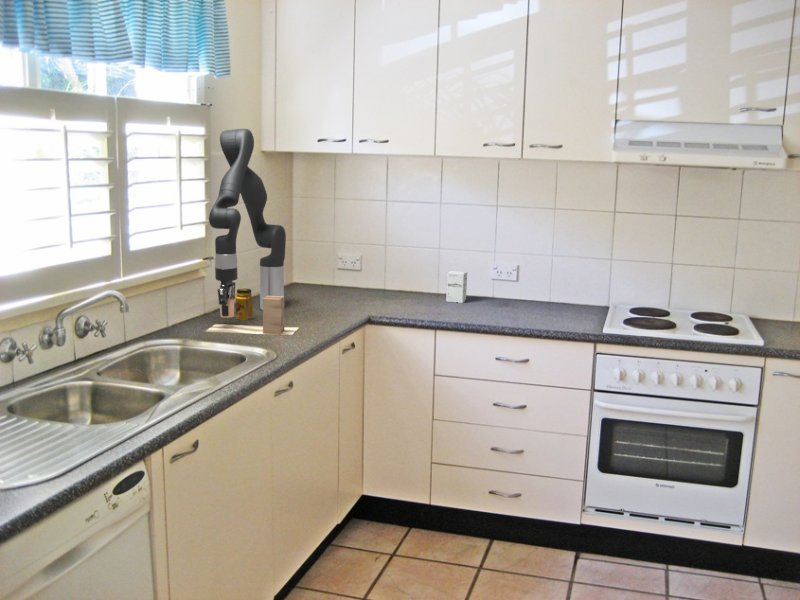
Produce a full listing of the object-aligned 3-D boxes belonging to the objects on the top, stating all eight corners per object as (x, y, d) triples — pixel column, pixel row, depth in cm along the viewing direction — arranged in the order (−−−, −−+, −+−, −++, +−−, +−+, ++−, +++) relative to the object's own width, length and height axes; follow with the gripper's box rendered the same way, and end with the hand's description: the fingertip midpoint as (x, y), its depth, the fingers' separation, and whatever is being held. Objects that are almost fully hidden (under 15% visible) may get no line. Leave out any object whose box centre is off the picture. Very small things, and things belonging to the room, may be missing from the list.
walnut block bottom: (267, 329, 292) (267, 312, 291) (284, 330, 291) (284, 313, 290) (263, 333, 286) (262, 316, 285) (280, 334, 285) (280, 316, 284)
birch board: (215, 326, 299) (215, 324, 299) (298, 330, 296) (298, 327, 296) (204, 334, 287) (204, 331, 287) (291, 338, 285) (291, 335, 285)
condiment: (231, 322, 307) (230, 289, 305) (244, 318, 315) (244, 286, 313) (247, 324, 304) (247, 291, 302) (260, 320, 312) (260, 288, 310)
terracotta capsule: (222, 314, 297) (222, 297, 296) (235, 314, 297) (235, 298, 295) (218, 317, 292) (218, 300, 291) (232, 317, 292) (232, 300, 291)
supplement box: (445, 302, 356) (446, 272, 354) (449, 299, 363) (450, 270, 361) (462, 303, 354) (463, 273, 352) (466, 300, 361) (467, 271, 359)
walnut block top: (267, 312, 291) (267, 295, 289) (284, 313, 290) (284, 296, 289) (262, 316, 285) (262, 298, 284) (280, 316, 284) (280, 299, 283)
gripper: (221, 262, 298) (222, 309, 302) (209, 269, 284) (210, 318, 288) (242, 263, 298) (243, 310, 301) (231, 269, 284) (232, 319, 287)
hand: (227, 314), depth 294 cm, fingers closed on terracotta capsule, 4 cm apart
